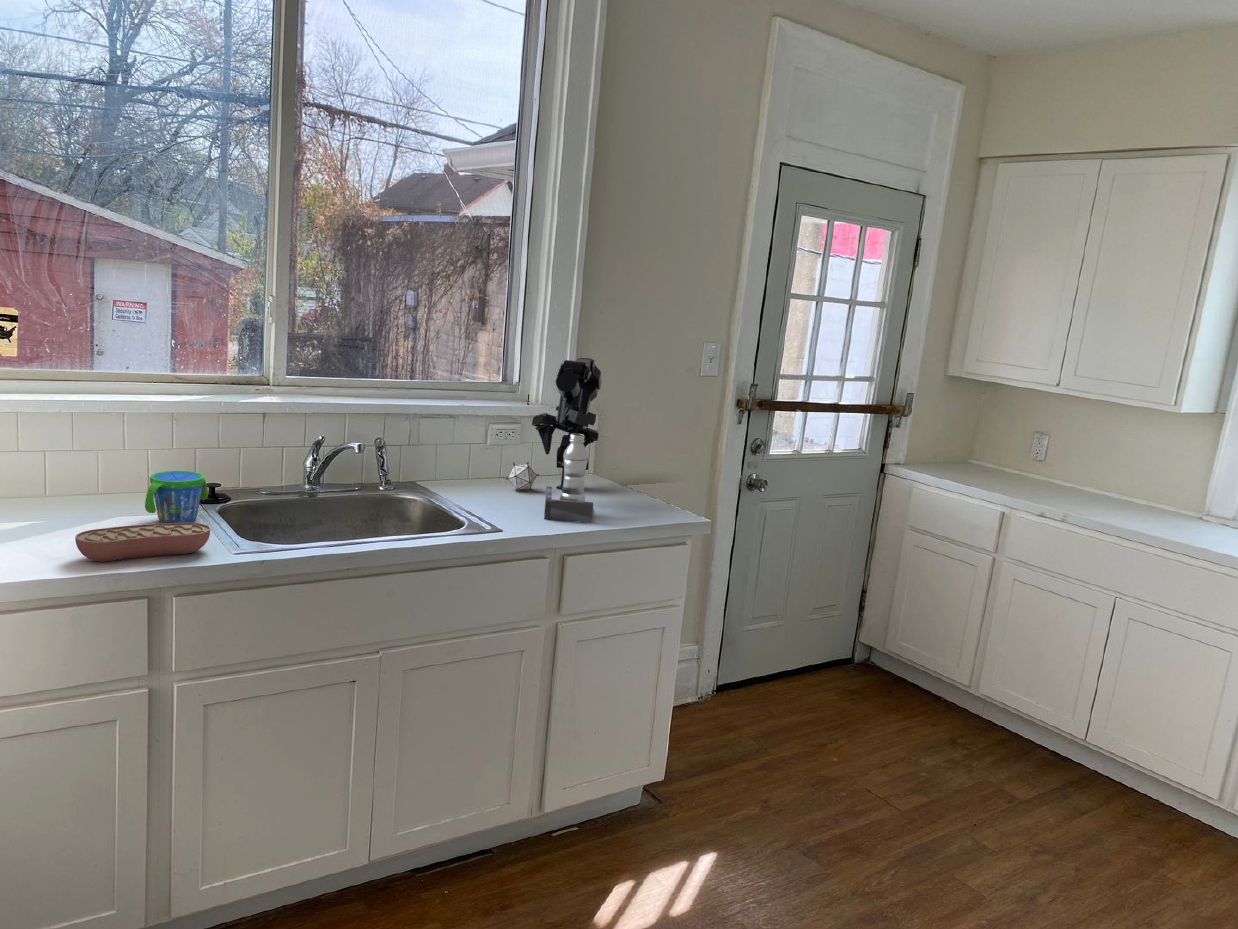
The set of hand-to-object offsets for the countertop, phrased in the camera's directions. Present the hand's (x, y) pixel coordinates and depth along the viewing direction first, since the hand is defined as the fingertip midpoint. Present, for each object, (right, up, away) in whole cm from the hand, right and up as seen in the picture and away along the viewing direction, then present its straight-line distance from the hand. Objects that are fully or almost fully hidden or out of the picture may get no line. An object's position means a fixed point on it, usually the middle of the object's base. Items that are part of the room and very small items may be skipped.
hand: (561, 458), depth 242 cm
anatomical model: (-75, -19, -70) cm, 105 cm away
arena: (+2, -14, -8) cm, 17 cm away
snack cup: (-81, -14, -46) cm, 94 cm away
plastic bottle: (+3, -14, -9) cm, 17 cm away
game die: (-12, -9, +13) cm, 20 cm away
